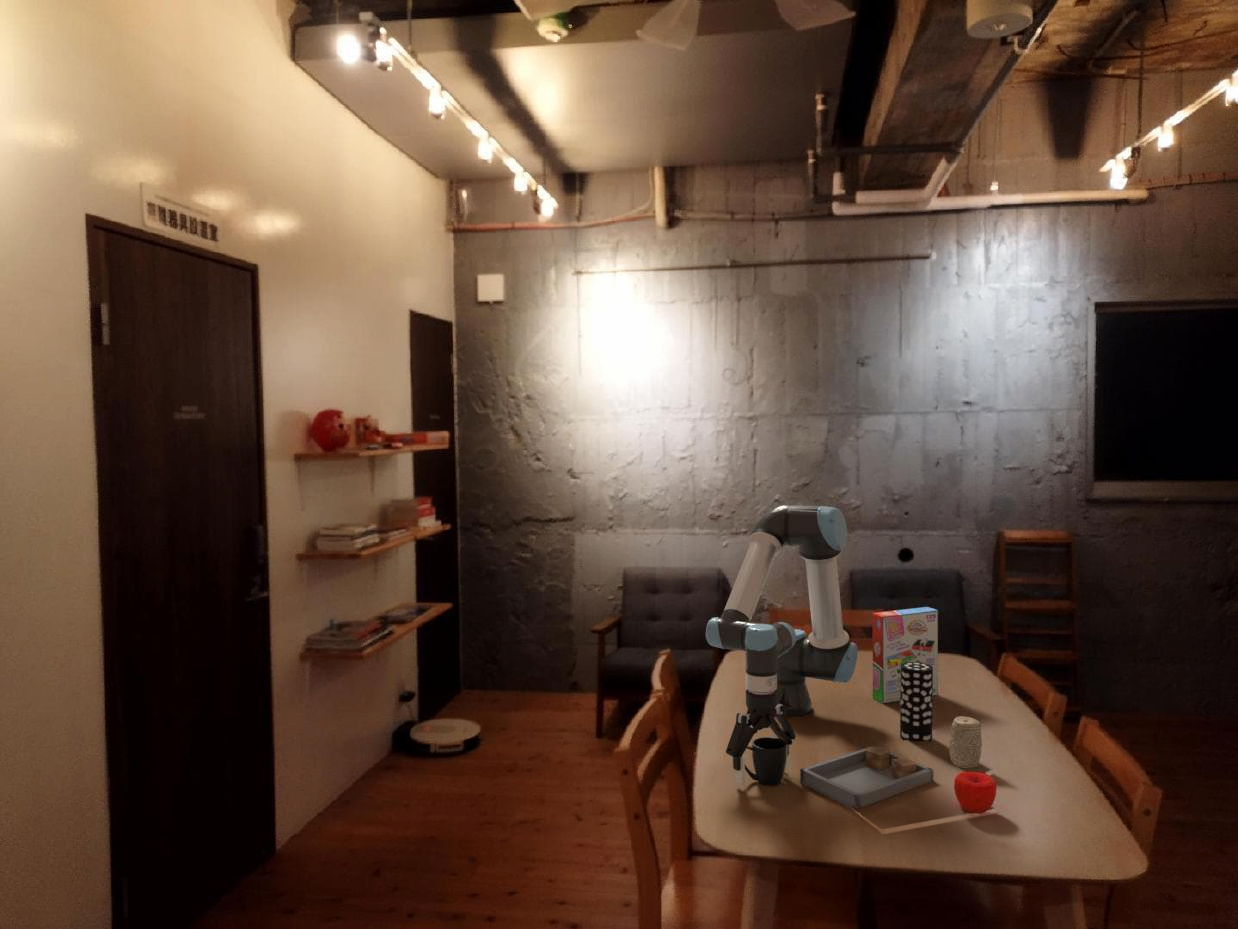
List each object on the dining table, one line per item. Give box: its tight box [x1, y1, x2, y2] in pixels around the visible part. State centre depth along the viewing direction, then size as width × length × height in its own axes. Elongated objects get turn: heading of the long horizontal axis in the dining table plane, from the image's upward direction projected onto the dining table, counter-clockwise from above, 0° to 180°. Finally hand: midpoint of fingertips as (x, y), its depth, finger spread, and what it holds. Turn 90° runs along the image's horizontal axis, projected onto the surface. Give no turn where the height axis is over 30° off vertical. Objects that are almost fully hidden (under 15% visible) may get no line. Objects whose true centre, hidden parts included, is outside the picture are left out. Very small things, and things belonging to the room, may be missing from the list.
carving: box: [949, 715, 983, 769], centre depth 216 cm, size 6×8×12 cm
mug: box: [738, 736, 788, 787], centre depth 209 cm, size 8×12×10 cm
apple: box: [953, 771, 997, 814], centre depth 192 cm, size 9×9×8 cm
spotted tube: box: [899, 662, 934, 743], centre depth 234 cm, size 8×8×20 cm
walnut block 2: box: [892, 756, 917, 779], centre depth 208 cm, size 4×4×4 cm
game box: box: [872, 606, 939, 704], centre depth 267 cm, size 21×6×27 cm, turn 108°
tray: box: [799, 745, 934, 813], centre depth 207 cm, size 18×26×4 cm
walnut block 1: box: [866, 745, 890, 771], centre depth 215 cm, size 4×4×4 cm
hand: (761, 776), depth 209 cm, fingers open, 13 cm apart
